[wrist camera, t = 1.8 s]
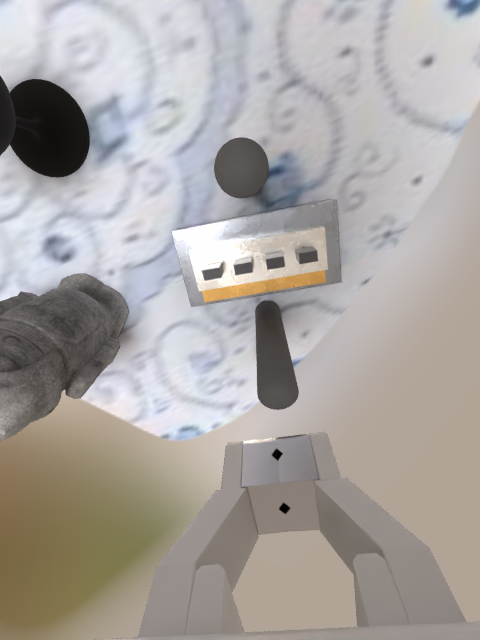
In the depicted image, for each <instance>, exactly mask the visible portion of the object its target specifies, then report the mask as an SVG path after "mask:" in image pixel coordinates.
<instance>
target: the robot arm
mask: <svg viewBox="0 0 480 640" xmlns="http://www.w3.org/2000/svg"><path fill="white" fill-rule="evenodd" d="M305 530H306V531H307V530H320V532H321V533H322V534H323V535H324V537H325V538H326V539H327V541H328V542H329V543H330V545H331V546H332V547H333V549H334V550H335V551H336V552H337V554H338V555H339V556H340V558H341V559H342V560H343V562H344V563H345V564H346V565H347V567H348V568H349V569H350V571H351V572H352V573H353V575H354V588H355V602H356V617H357V627H348V628H327V629H306V630H285V631H264V632H244V629H243V626H242V623H241V620H240V617H239V614H238V610H237V607H236V604H235V601H234V598H233V595H232V592H233V590H234V588H235V585H236V583H237V581H238V579H239V577H240V575H241V573H242V571H243V569H244V566H245V564H246V562H247V560H248V558H249V556H250V554H251V552H252V550H253V548H254V546H255V543H256V541H257V539H258V535H261V534H269V533H278V532H288V531H305ZM95 640H480V621H479V622H466V620H465V618H464V616H463V614H462V612H461V610H460V608H459V606H458V604H457V602H456V600H455V598H454V596H453V594H452V592H451V590H450V588H449V586H448V584H447V582H446V580H445V578H444V576H443V574H442V572H441V570H440V568H439V566H438V564H437V562H436V560H435V558H434V556H433V554H432V552H431V550H430V548H429V547H428V546H427V545H425V544H424V543H423V542H422V541H421V540H420V539H418V538H417V537H416V536H415V535H414V534H413V533H411V532H410V531H409V530H408V529H407V528H405V527H404V526H403V525H402V524H401V523H400V522H398V521H397V520H396V519H395V518H394V517H393V516H391V515H390V514H389V513H388V512H386V511H385V510H384V509H383V508H382V507H381V506H380V505H378V504H377V503H376V502H375V501H374V500H372V499H371V498H370V497H369V496H368V495H367V494H365V493H364V492H363V491H362V490H361V489H360V488H358V487H357V486H356V485H355V484H354V483H352V482H351V481H350V480H349V479H348V478H341V475H340V472H339V469H338V466H337V463H336V459H335V456H334V453H333V450H332V447H331V444H330V441H329V437H328V434H327V433H326V432H318V433H310V434H304V435H295V436H288V437H279V438H270V439H259V440H248V441H242V442H228V443H227V445H226V449H225V458H224V467H223V477H222V486H221V490H216V491H215V492H214V494H213V495H212V496H211V498H210V499H209V500H208V501H207V503H206V504H205V505H204V507H203V508H202V509H201V510H200V512H199V513H198V514H197V516H196V517H195V518H194V519H193V521H192V522H191V523H190V525H189V526H188V527H187V528H186V530H185V531H184V532H183V534H182V535H181V536H180V537H179V539H178V540H177V541H176V543H175V544H174V545H173V546H172V548H171V549H170V550H169V551H168V553H167V554H166V555H165V557H164V558H163V559H162V560H161V562H160V563H159V564H158V565H157V567H156V571H155V575H154V578H153V582H152V586H151V590H150V593H149V597H148V601H147V605H146V609H145V613H144V616H143V620H142V624H141V628H140V631H139V635H138V638H117V639H95Z"/></svg>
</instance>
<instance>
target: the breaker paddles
mask: <svg viewBox="0 0 480 640" xmlns="http://www.w3.org/2000/svg"><path fill="white" fill-rule="evenodd" d="M295 252H296V260H297V261H298V263H299V264H305V263H311V262H317V261H318V254H317V250H316V249H315V248H314V247H313V246H311V247H305V248H300V249H295ZM265 260H266V266H267V270H270V269H276V268H282V267H285V261H284V256H283V254H282V252H277V253H272V254H266V255H265ZM233 266H234V271H235V275H241V274H247V273H253V264H252V258H251V257H249V258H243V259H238V260H235V261H234V265H233ZM202 273H203V278H204V281H207V280H212V279H218V278H222V275H223V273H224V271H223V267H222V262H221V263H215V264H210V265H205V267H204V268H203V270H202Z"/></svg>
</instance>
